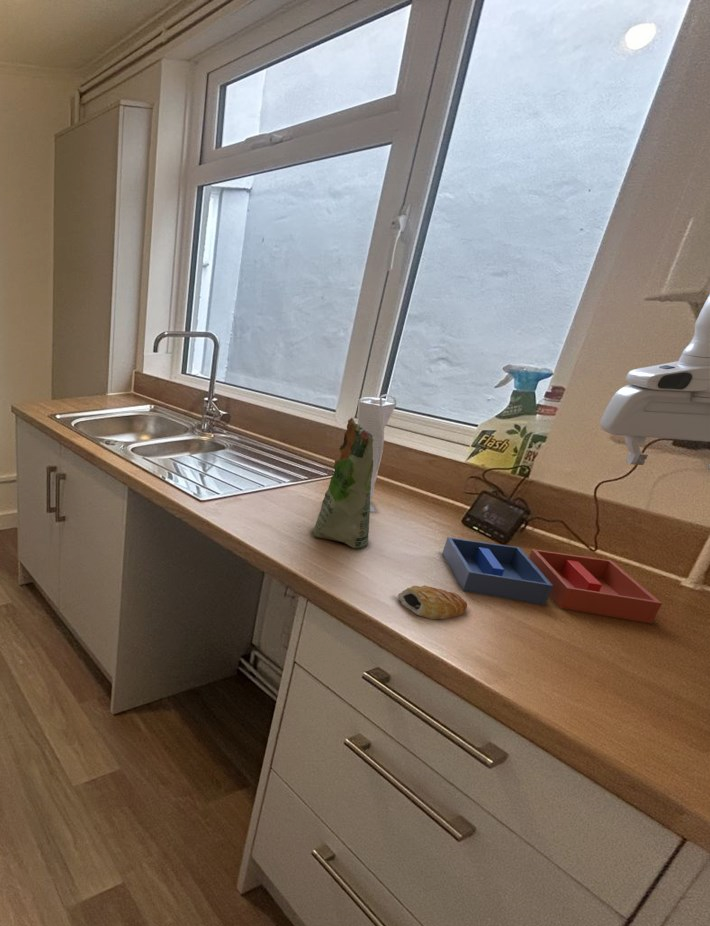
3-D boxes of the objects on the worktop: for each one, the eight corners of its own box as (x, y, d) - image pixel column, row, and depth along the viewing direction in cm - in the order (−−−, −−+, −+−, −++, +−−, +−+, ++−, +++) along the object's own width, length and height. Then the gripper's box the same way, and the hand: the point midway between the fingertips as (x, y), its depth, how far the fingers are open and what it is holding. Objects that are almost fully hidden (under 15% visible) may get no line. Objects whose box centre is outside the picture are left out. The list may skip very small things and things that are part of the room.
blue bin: (512, 566, 100) (519, 547, 98) (544, 607, 87) (553, 585, 86) (441, 555, 104) (447, 536, 103) (462, 592, 92) (469, 572, 90)
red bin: (602, 580, 95) (612, 560, 93) (650, 625, 82) (662, 603, 81) (524, 568, 99) (531, 548, 98) (558, 609, 87) (567, 588, 85)
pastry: (444, 597, 90) (450, 578, 89) (477, 620, 84) (485, 600, 83) (392, 600, 90) (398, 580, 88) (422, 623, 83) (429, 603, 82)
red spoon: (580, 576, 95) (586, 562, 94) (617, 612, 85) (624, 597, 83) (552, 571, 97) (558, 558, 96) (584, 607, 86) (591, 592, 85)
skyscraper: (376, 516, 123) (407, 396, 112) (337, 511, 125) (363, 393, 115) (370, 503, 130) (398, 389, 119) (333, 499, 133) (357, 387, 122)
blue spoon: (491, 562, 100) (496, 549, 99) (515, 595, 90) (521, 581, 88) (466, 558, 102) (470, 545, 101) (486, 590, 91) (491, 576, 90)
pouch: (346, 555, 105) (376, 433, 95) (294, 533, 114) (317, 420, 105) (380, 544, 109) (412, 426, 100) (327, 523, 119) (352, 414, 110)
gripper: (805, 378, 75) (755, 469, 80) (614, 370, 83) (580, 454, 88) (844, 384, 70) (788, 482, 75) (636, 376, 78) (599, 465, 83)
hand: (674, 467), depth 82 cm, fingers open, 8 cm apart
